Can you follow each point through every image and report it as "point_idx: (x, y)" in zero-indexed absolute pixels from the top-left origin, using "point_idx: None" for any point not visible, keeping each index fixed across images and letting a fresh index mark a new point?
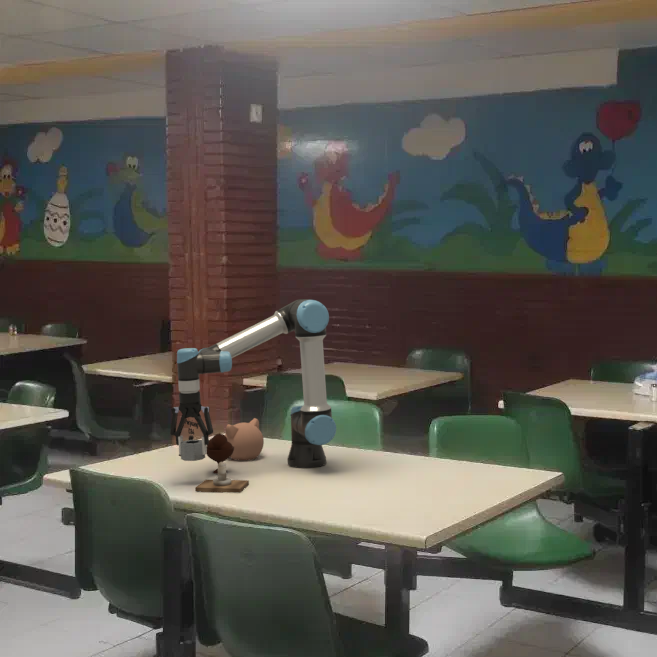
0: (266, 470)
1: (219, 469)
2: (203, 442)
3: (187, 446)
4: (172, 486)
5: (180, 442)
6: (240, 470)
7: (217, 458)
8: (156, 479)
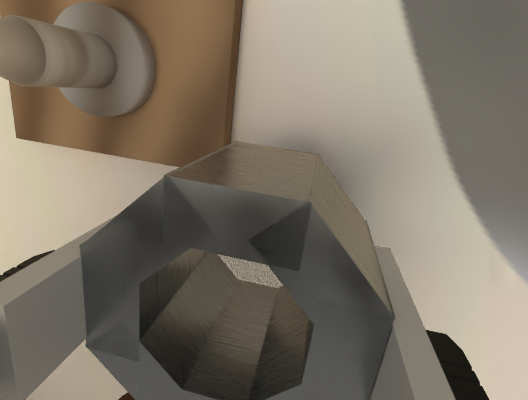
0: None
1: (42, 22)
2: (57, 253)
3: (267, 185)
4: (403, 118)
5: (394, 330)
6: None
7: None
8: (513, 288)
